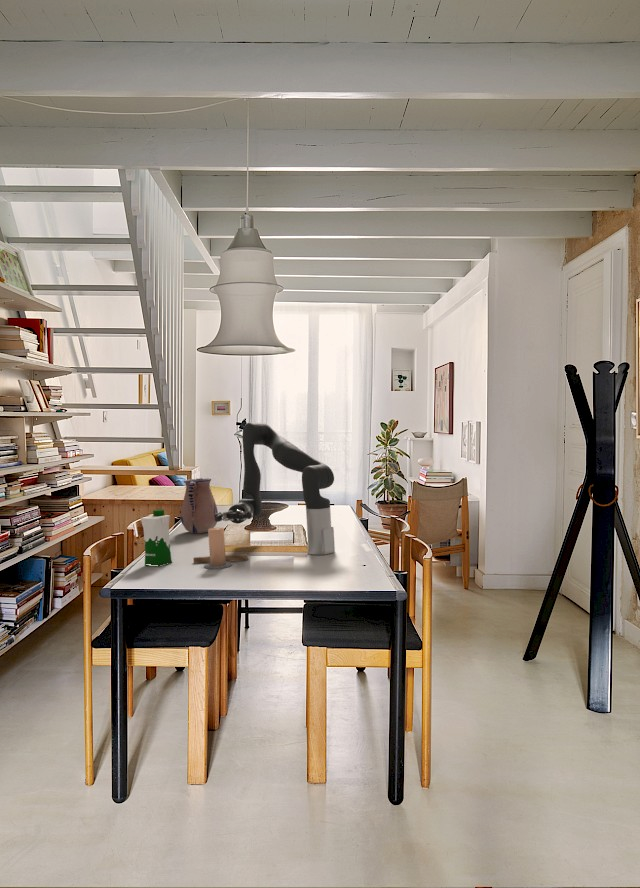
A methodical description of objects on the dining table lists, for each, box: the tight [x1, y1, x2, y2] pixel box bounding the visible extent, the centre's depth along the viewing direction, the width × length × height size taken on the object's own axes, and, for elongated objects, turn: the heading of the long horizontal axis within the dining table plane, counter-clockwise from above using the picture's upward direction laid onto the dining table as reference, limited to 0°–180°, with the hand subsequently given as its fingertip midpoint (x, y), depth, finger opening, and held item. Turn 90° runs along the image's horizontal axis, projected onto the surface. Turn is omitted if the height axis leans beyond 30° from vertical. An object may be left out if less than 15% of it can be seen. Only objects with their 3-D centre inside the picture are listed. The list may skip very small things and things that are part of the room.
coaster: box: [203, 561, 233, 570], centre depth 260 cm, size 10×10×1 cm
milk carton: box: [140, 509, 172, 567], centre depth 268 cm, size 9×9×20 cm
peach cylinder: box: [207, 527, 227, 566], centre depth 259 cm, size 6×6×13 cm
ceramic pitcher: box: [180, 477, 219, 535], centre depth 337 cm, size 18×21×25 cm
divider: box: [192, 553, 249, 564], centre depth 267 cm, size 20×2×2 cm, turn 91°
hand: (228, 518), depth 272 cm, fingers open, 8 cm apart
